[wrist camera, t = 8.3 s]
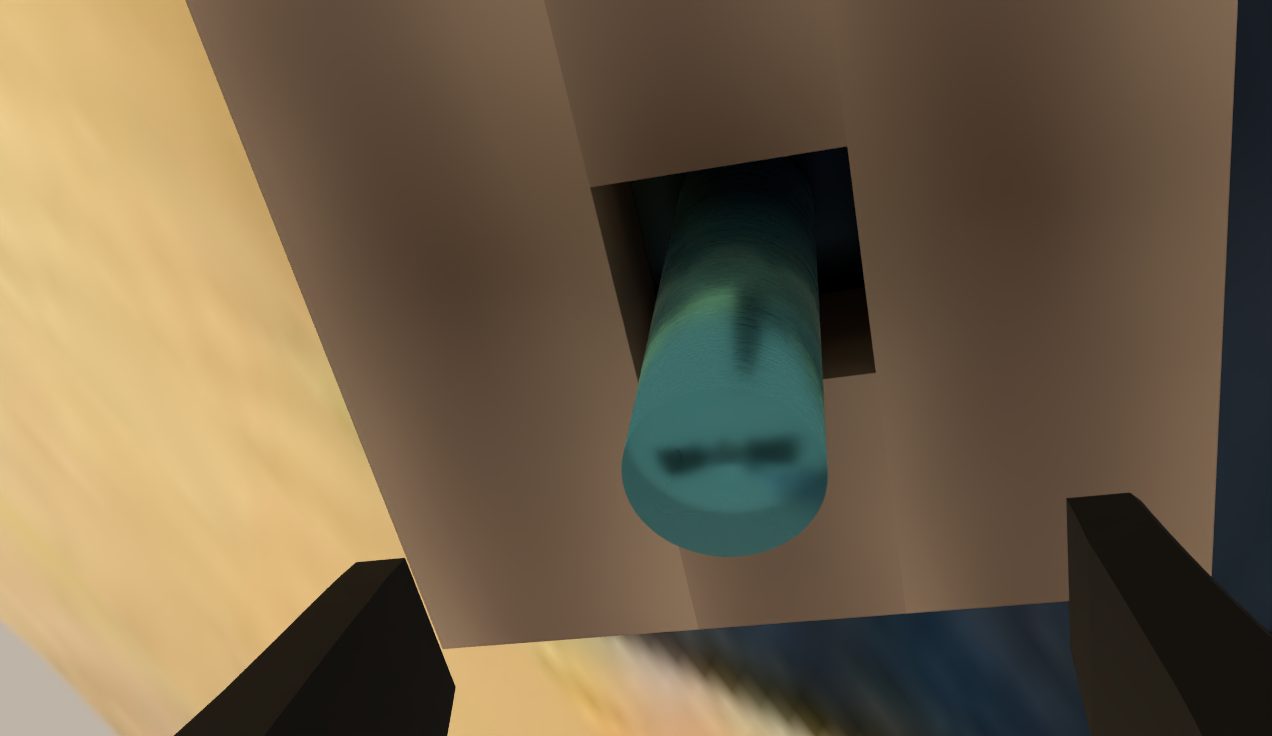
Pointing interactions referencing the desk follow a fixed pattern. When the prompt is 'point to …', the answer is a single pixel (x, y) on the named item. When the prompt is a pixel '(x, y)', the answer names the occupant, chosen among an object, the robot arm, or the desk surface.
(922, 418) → the bored board
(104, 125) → the desk surface
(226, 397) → the desk surface
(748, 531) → the long pin
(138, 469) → the desk surface
